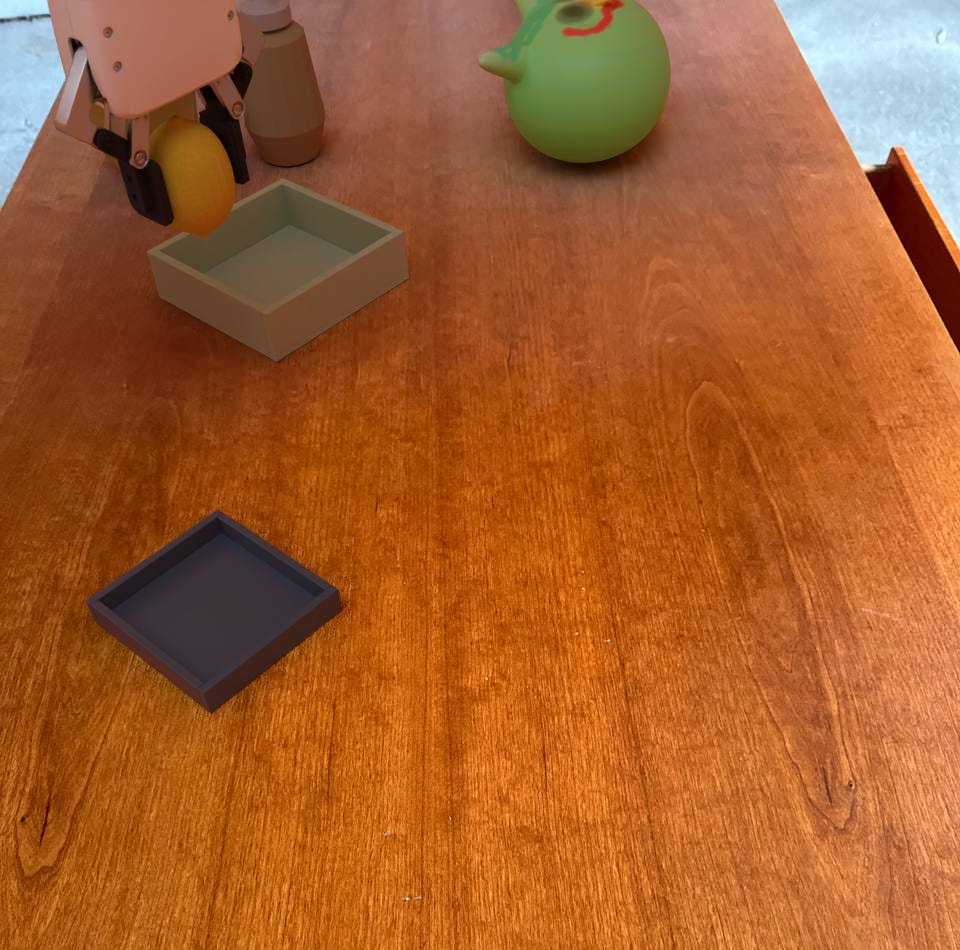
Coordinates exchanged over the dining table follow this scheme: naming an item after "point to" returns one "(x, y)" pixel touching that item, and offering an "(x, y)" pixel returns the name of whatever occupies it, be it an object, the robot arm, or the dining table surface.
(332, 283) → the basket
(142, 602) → the tray
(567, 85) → the toy bird
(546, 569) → the dining table surface
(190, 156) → the lemon
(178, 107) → the flower pot
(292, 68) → the squeeze bottle
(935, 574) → the dining table surface
